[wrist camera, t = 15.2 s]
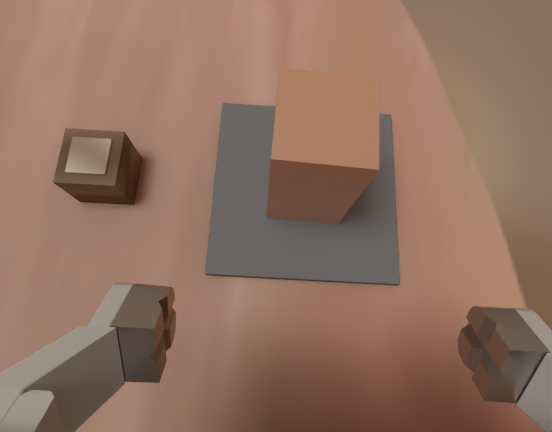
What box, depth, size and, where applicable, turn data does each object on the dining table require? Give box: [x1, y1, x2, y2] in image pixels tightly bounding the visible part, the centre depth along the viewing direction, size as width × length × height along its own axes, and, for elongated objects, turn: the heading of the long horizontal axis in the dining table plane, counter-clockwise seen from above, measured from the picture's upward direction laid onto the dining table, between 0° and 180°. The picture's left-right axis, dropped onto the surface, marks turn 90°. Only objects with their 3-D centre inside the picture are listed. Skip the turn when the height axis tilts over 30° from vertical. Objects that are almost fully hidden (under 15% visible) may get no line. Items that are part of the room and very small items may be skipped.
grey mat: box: [205, 103, 400, 285], centre depth 29 cm, size 14×14×1 cm
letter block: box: [53, 128, 141, 205], centre depth 27 cm, size 4×4×4 cm
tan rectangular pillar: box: [266, 68, 380, 224], centre depth 24 cm, size 5×5×10 cm
